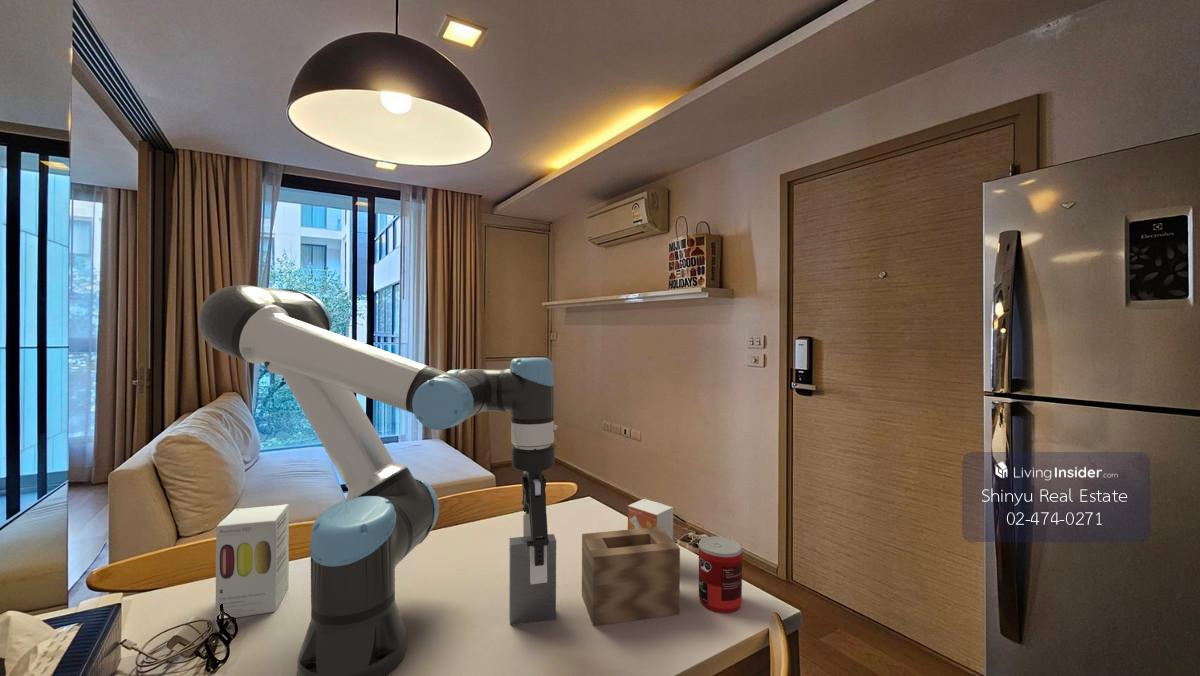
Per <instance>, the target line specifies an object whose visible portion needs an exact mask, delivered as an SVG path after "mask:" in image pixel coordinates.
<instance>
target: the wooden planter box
mask: <svg viewBox="0 0 1200 676" xmlns="http://www.w3.org/2000/svg"><path fill="white" fill-rule="evenodd" d="M680 574H681V548H680V546H679V545H678V544H677V543H676V542H675V541H674V539H673V540H672V539H671V538H670V537H669V536H668V534H667V533H666V532H665V531H664V530H663V529H662V528H661V527H652V528H641V529H630V530H628V529H622V530H621V529H619V530H611V531H610V530H609V531H600V532H598V531H597V532H589V533H587V532H586V533H582V534H581V597H582V600H583V602H584V605H585V607H586V608H585V609H586V611H587V613H588V616H589V619H590V621H591V624H592V627H594V626H595V627H596V626H601V625H610V624H617V623H624V622H632V621H641V620H647V619H654V618H659V617H660V618H661V617H668V616H674V615H675V616H676V615H680V595H681V593H680V590H681V589H680V582H681V578H680V577H681V575H680Z"/></svg>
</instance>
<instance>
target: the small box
mask: <svg viewBox="0 0 1200 676" xmlns="http://www.w3.org/2000/svg"><path fill="white" fill-rule="evenodd" d="M652 527H661V528H662V529H663V530H664V531H665V532H666V533H667V534H668V536H669V537H670V538H671V539H672V540H673V541H674V507H673V506H669V505H668V504H667V505H666V504H663V503H660V502H657V501H653V500H649V499H647V498H642V499H640V500H638V501H636V502H633V503H631V504H628V505H627V530H630V529H641V528H652Z"/></svg>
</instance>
